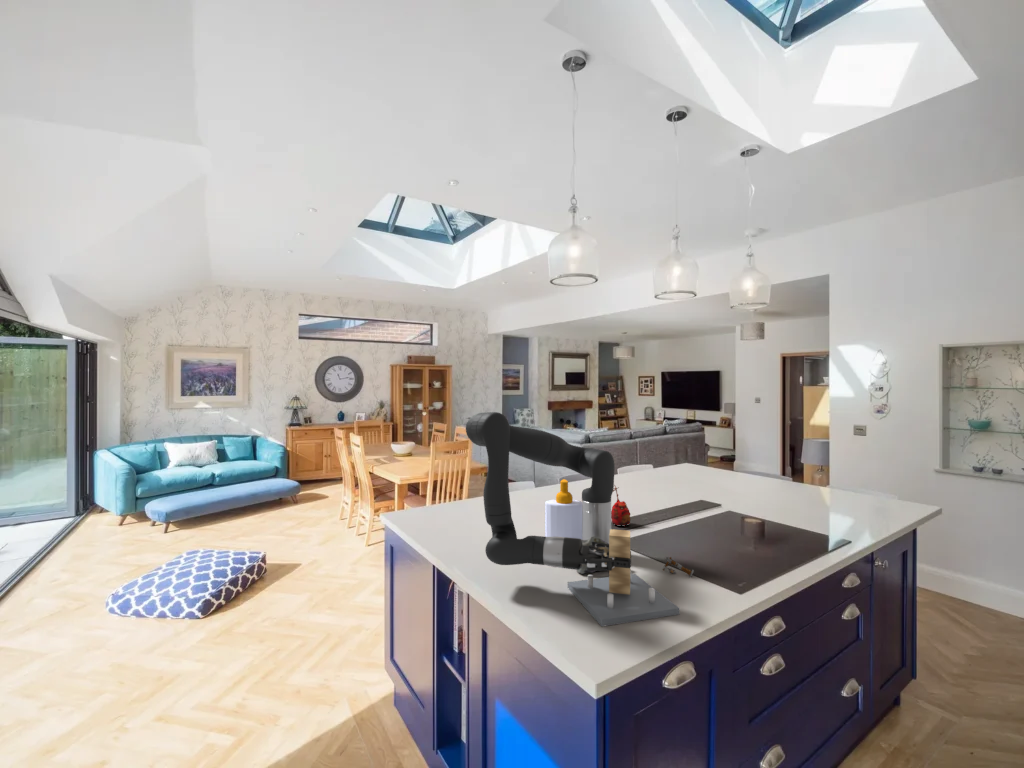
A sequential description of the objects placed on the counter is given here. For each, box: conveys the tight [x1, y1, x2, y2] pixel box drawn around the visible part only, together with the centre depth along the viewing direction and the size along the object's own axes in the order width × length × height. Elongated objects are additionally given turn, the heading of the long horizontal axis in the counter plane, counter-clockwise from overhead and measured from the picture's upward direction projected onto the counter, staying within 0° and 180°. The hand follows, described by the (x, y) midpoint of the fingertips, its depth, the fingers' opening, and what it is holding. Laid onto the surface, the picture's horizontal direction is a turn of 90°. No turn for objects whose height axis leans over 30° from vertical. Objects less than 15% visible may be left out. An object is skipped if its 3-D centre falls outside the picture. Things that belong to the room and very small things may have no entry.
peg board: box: [567, 570, 680, 627], centre depth 114 cm, size 20×20×4 cm
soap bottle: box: [544, 478, 582, 540], centre depth 158 cm, size 13×8×20 cm, turn 84°
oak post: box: [608, 528, 631, 595], centre depth 114 cm, size 5×5×14 cm
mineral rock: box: [576, 536, 609, 575], centre depth 132 cm, size 13×11×10 cm
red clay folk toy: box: [611, 484, 631, 525], centre depth 175 cm, size 8×7×15 cm
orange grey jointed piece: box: [662, 556, 695, 578], centre depth 130 cm, size 2×8×4 cm, turn 64°
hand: (630, 559), depth 113 cm, fingers closed on oak post, 5 cm apart
